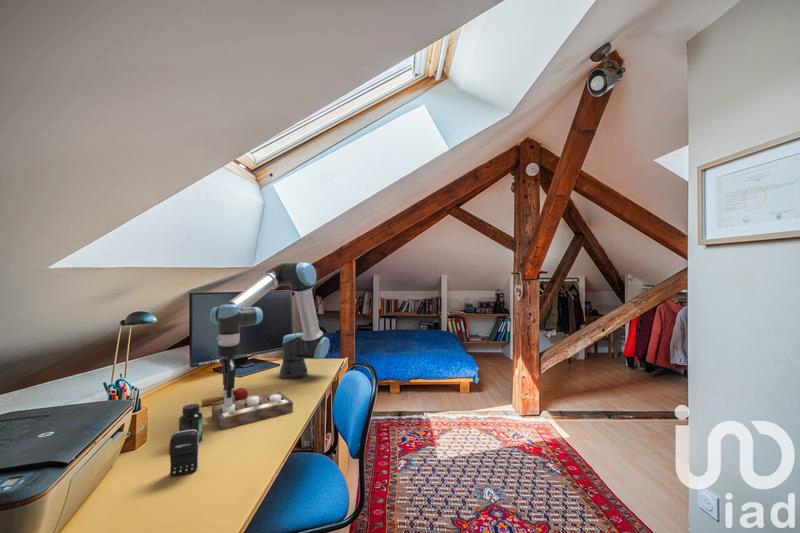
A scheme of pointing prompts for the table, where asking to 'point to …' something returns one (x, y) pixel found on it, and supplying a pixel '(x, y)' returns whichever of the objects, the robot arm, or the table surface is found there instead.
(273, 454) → the table surface
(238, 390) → the kendama
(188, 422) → the supplement bottle
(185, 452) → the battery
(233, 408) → the button
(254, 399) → the button middle
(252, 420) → the button board
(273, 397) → the button
